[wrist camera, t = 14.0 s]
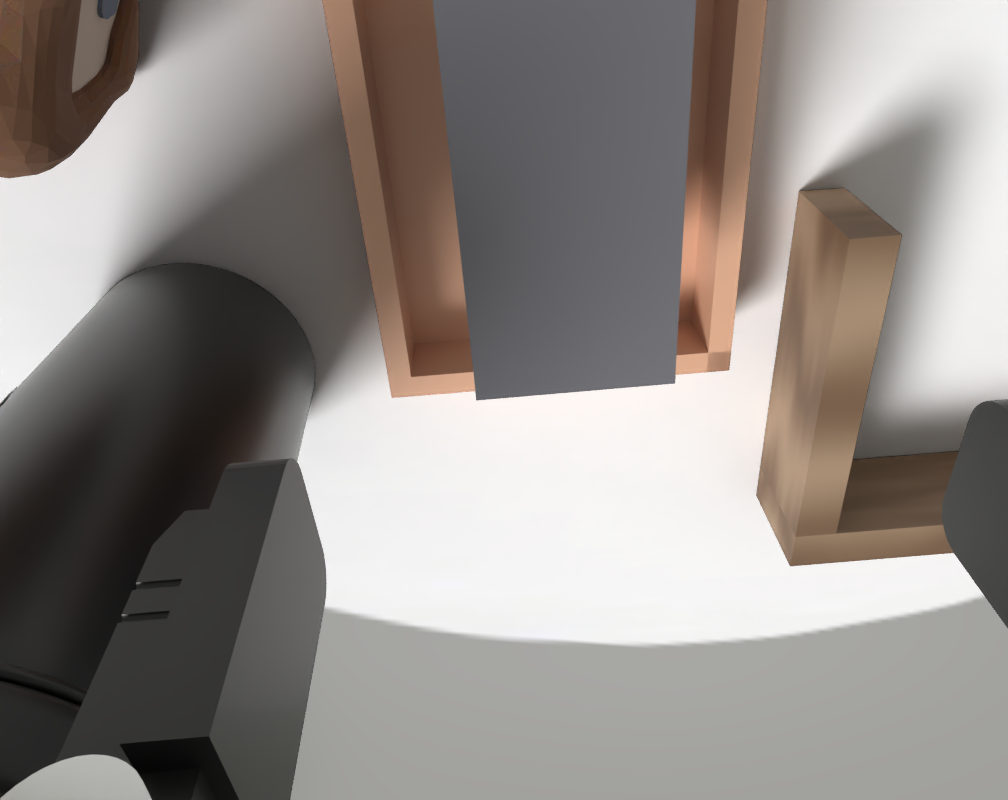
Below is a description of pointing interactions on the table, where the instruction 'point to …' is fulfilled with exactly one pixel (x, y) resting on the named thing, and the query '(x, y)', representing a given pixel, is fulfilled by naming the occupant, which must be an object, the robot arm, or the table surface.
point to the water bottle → (125, 470)
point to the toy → (60, 75)
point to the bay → (840, 401)
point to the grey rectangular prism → (568, 186)
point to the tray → (430, 198)
